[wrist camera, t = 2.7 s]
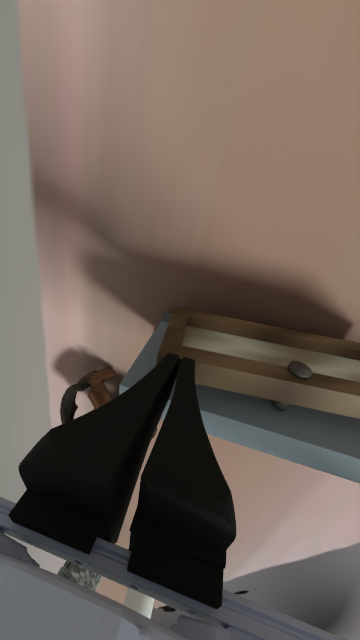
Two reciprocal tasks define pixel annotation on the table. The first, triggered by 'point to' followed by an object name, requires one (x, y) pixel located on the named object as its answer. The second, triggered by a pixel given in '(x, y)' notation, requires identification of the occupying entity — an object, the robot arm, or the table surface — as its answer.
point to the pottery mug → (95, 395)
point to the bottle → (139, 602)
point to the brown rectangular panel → (267, 361)
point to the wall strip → (266, 421)
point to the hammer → (80, 575)
